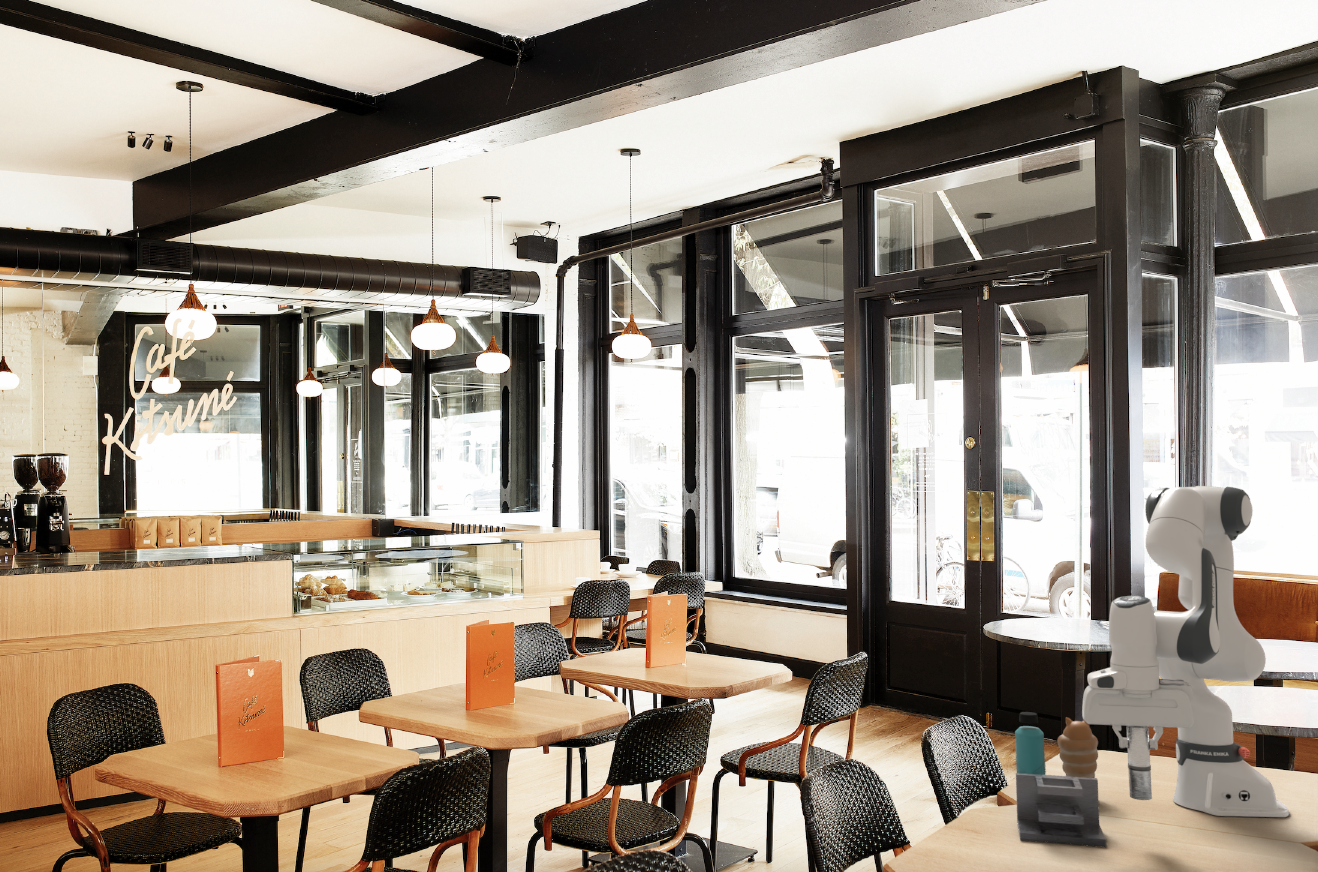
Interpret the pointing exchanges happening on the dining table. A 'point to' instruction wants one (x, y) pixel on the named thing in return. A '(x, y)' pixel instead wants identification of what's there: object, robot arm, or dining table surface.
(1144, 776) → the grey cylinder
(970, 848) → the dining table surface
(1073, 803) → the collar stand
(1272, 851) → the dining table surface
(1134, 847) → the dining table surface
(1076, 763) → the cat ice cream
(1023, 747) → the beverage bottle
